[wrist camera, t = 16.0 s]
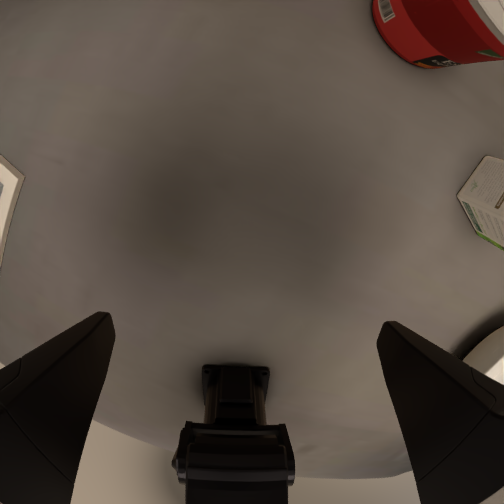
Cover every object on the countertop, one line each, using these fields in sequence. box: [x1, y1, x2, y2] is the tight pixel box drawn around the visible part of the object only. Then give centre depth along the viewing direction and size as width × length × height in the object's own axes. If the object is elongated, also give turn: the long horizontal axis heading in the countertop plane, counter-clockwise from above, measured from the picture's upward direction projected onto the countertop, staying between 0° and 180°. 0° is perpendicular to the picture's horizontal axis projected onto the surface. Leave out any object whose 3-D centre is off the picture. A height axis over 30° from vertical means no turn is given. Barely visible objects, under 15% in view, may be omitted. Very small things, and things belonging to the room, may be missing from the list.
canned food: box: [372, 0, 504, 69], centre depth 10 cm, size 8×8×11 cm
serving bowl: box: [462, 326, 504, 385], centre depth 27 cm, size 21×21×7 cm
